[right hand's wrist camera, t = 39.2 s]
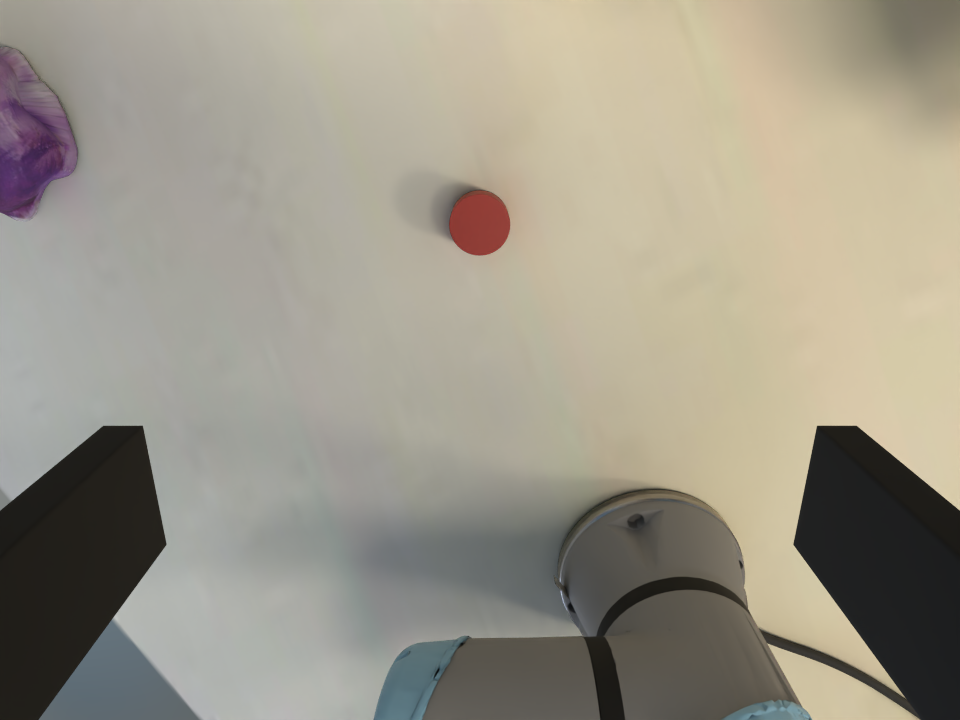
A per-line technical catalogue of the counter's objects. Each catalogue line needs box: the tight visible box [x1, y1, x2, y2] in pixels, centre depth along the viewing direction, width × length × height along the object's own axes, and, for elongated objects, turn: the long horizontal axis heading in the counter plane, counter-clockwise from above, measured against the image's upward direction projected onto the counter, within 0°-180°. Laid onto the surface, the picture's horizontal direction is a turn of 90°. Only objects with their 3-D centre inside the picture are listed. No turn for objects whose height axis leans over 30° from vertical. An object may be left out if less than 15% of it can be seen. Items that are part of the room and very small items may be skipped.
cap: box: [449, 190, 510, 255], centre depth 45 cm, size 4×4×2 cm
